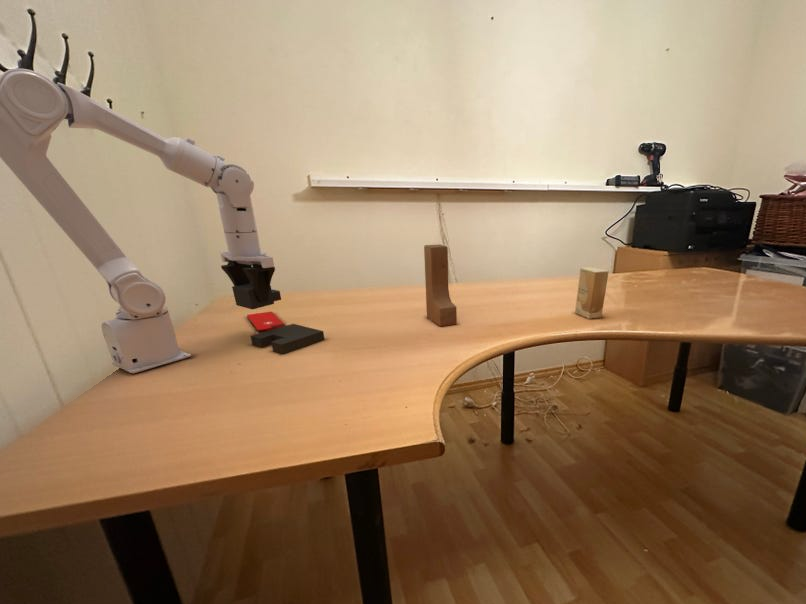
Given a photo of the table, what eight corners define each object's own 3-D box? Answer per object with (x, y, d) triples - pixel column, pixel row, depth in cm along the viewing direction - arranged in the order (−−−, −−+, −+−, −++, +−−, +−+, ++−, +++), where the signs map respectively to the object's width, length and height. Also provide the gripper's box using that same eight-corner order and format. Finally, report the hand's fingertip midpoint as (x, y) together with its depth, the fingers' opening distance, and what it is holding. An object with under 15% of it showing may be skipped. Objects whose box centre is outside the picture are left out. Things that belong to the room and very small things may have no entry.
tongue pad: (252, 309, 82) (248, 290, 80) (236, 305, 84) (231, 286, 83) (286, 300, 88) (282, 282, 86) (270, 297, 90) (266, 279, 89)
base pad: (283, 354, 78) (281, 344, 78) (252, 344, 83) (250, 335, 82) (324, 339, 86) (323, 330, 86) (294, 331, 91) (293, 323, 90)
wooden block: (457, 324, 98) (456, 248, 91) (440, 326, 96) (438, 249, 89) (442, 315, 105) (440, 244, 98) (426, 317, 103) (423, 245, 96)
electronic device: (247, 316, 101) (258, 332, 90) (246, 314, 101) (257, 329, 90) (272, 313, 104) (286, 327, 93) (271, 311, 104) (285, 325, 93)
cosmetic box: (574, 313, 108) (579, 267, 104) (587, 311, 110) (592, 266, 106) (589, 319, 103) (595, 271, 98) (602, 317, 105) (609, 270, 100)
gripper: (282, 232, 79) (293, 299, 84) (239, 228, 86) (251, 291, 91) (248, 234, 74) (262, 307, 79) (204, 230, 80) (220, 297, 85)
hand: (254, 299), depth 84 cm, fingers closed on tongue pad, 5 cm apart
